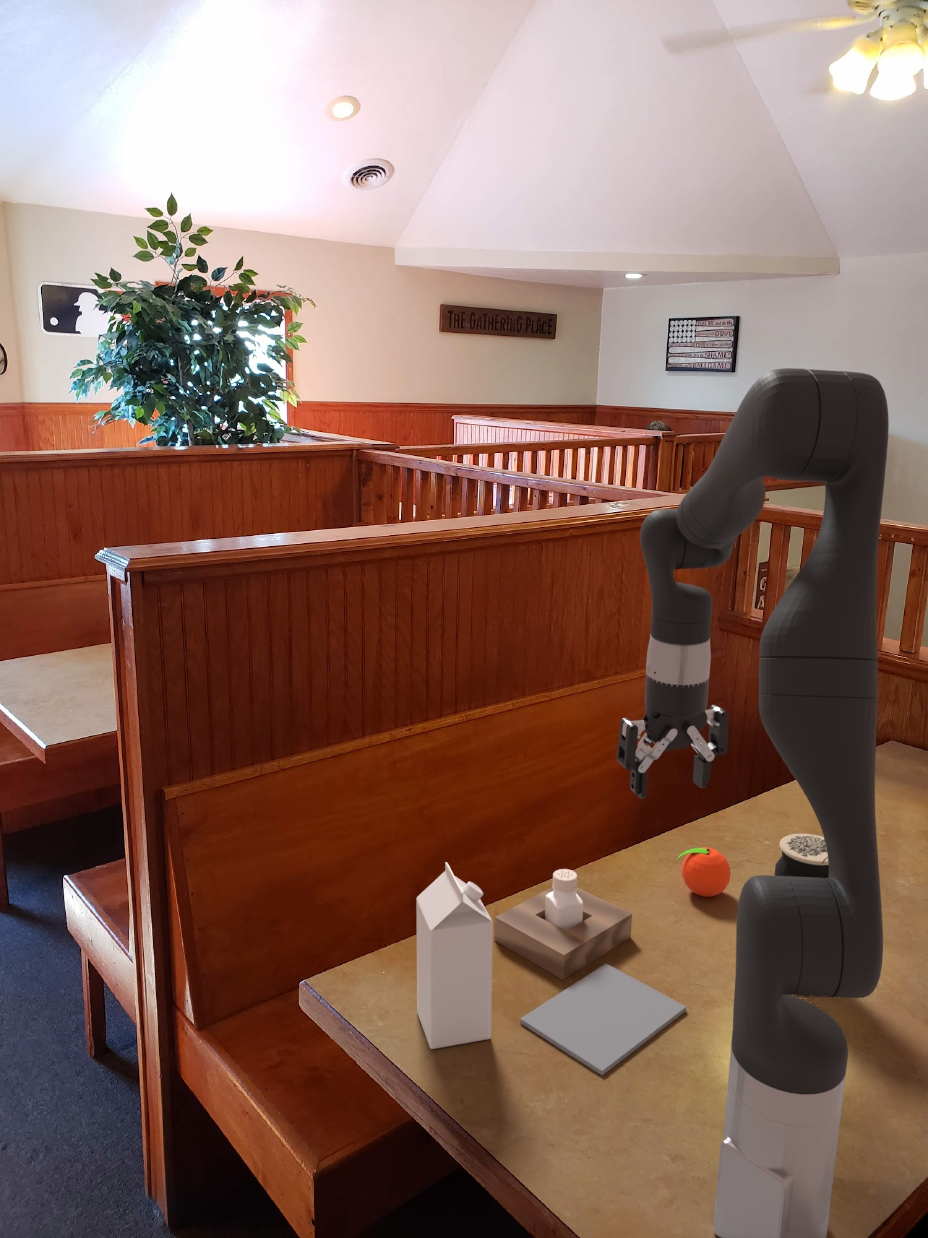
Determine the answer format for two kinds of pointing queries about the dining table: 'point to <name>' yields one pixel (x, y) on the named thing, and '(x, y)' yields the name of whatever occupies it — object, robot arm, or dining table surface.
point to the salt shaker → (564, 901)
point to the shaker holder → (562, 933)
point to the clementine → (705, 871)
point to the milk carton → (454, 962)
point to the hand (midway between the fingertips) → (670, 790)
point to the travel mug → (803, 857)
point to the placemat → (603, 1017)
